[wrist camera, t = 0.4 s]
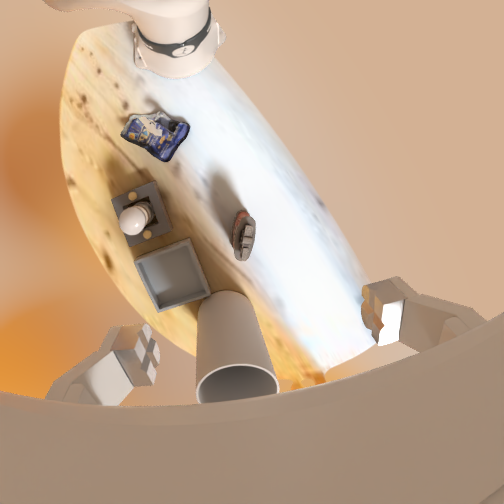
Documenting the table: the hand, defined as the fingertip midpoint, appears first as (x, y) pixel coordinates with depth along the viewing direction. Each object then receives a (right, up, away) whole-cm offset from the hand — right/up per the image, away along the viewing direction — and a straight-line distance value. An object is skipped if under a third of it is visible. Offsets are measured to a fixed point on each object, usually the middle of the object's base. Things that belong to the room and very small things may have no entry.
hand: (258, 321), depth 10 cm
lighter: (-3, +7, +47) cm, 47 cm away
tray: (-16, -2, +47) cm, 50 cm away
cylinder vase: (-6, -11, +52) cm, 53 cm away
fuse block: (-22, +10, +43) cm, 49 cm away
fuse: (-22, +10, +43) cm, 49 cm away
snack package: (-18, +25, +39) cm, 50 cm away
